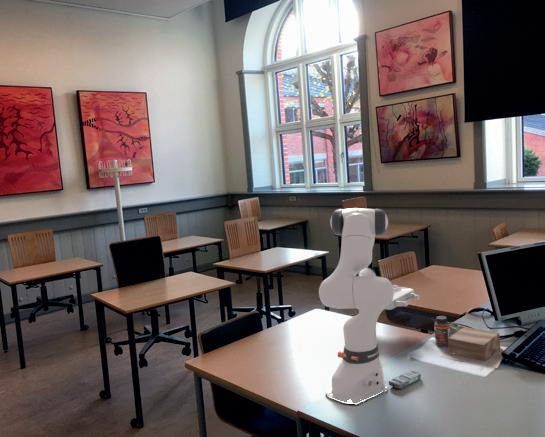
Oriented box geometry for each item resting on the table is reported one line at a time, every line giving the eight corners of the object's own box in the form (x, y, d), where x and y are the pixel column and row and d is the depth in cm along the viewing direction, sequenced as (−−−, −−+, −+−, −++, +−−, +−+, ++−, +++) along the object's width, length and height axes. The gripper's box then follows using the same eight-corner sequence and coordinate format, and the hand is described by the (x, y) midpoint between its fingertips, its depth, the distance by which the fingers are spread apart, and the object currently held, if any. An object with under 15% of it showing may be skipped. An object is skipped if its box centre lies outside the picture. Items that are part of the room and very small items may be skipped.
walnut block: (485, 360, 180) (483, 345, 180) (449, 352, 191) (447, 338, 190) (500, 347, 190) (499, 332, 189) (465, 341, 200) (464, 326, 199)
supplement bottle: (434, 346, 199) (432, 319, 197) (436, 340, 204) (434, 314, 202) (449, 347, 196) (447, 320, 194) (451, 341, 201) (449, 315, 200)
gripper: (370, 296, 209) (399, 300, 199) (396, 283, 223) (424, 287, 213) (372, 310, 210) (400, 315, 200) (398, 297, 224) (425, 301, 214)
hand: (413, 300), depth 207 cm, fingers open, 8 cm apart
